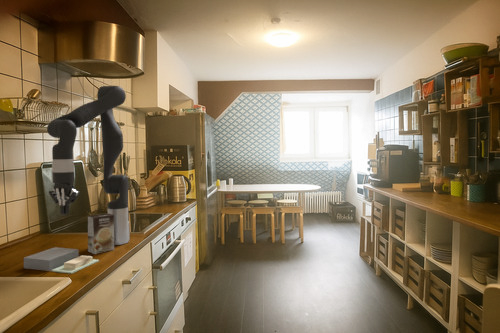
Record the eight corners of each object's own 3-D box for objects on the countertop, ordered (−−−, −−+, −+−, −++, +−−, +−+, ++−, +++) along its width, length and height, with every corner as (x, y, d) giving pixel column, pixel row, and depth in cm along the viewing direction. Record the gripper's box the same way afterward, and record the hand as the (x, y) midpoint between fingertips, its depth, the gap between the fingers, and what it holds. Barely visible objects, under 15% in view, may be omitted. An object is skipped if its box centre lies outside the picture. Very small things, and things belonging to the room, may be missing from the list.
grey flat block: (55, 256, 134) (55, 247, 134) (78, 259, 131) (78, 249, 131) (23, 268, 120) (23, 257, 120) (49, 271, 117) (49, 260, 117)
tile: (92, 256, 126) (92, 261, 126) (81, 255, 127) (82, 260, 127) (75, 263, 118) (75, 269, 118) (63, 262, 119) (64, 268, 119)
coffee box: (94, 254, 136) (93, 217, 136) (87, 251, 141) (86, 215, 140) (114, 249, 144) (114, 214, 143) (107, 247, 148) (107, 212, 147)
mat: (80, 259, 130) (80, 258, 130) (99, 261, 128) (99, 259, 128) (51, 271, 117) (51, 269, 117) (71, 273, 115) (71, 272, 115)
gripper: (84, 170, 127) (85, 213, 127) (57, 170, 130) (58, 211, 131) (69, 171, 119) (71, 217, 120) (41, 171, 122) (42, 215, 123)
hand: (64, 214), depth 125 cm, fingers closed
